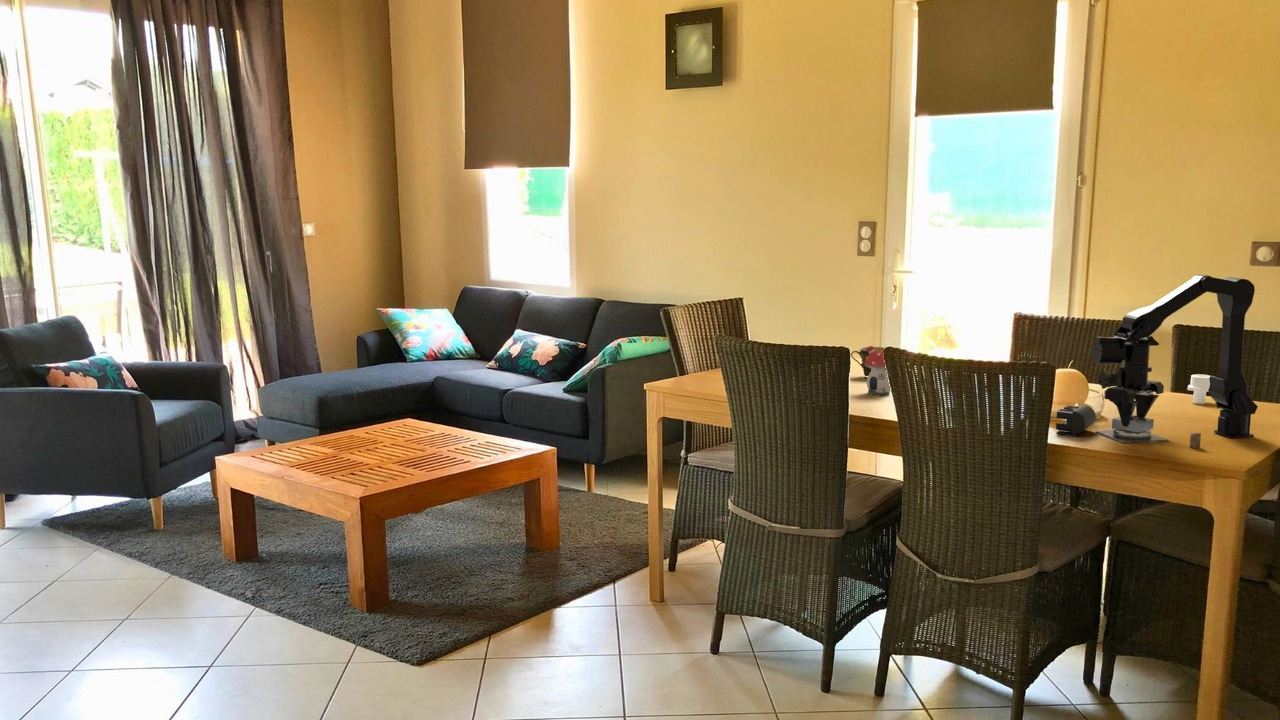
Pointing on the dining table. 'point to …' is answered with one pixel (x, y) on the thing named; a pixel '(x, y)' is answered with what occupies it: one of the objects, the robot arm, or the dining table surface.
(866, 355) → the ceramic cup
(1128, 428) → the grey square base
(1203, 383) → the pipe fitting
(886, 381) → the decorative ornament
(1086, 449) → the dining table surface
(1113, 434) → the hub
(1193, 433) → the stand post
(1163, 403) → the dining table surface
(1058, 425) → the end cap
